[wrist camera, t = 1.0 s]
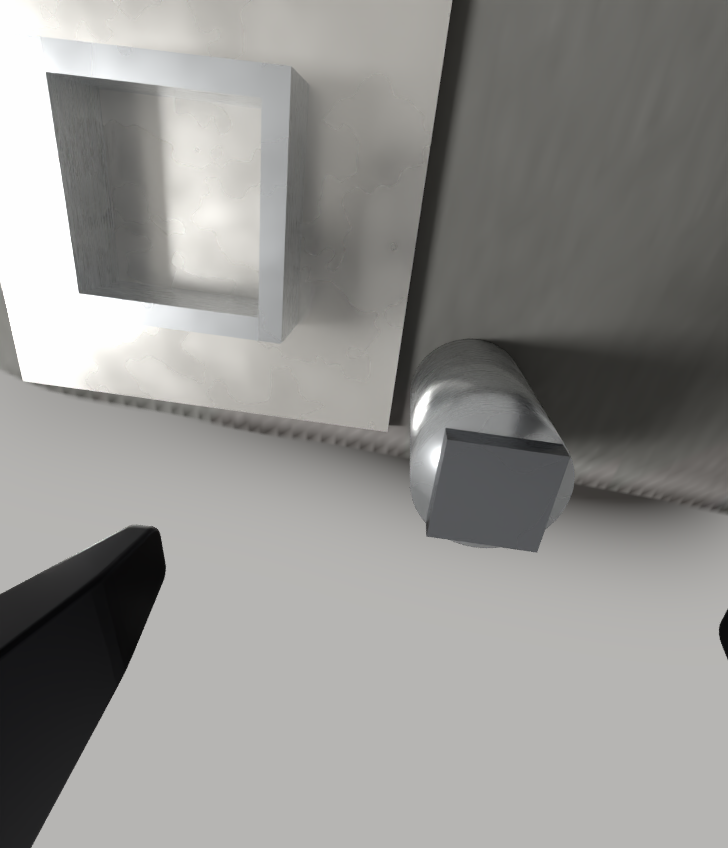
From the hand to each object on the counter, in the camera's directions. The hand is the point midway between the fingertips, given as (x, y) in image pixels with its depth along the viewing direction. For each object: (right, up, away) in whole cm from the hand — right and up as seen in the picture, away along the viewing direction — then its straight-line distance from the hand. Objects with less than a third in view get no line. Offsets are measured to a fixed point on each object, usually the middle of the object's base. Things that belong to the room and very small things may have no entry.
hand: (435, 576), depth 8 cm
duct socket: (-7, +11, +10) cm, 16 cm away
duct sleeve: (+3, +4, +13) cm, 13 cm away
